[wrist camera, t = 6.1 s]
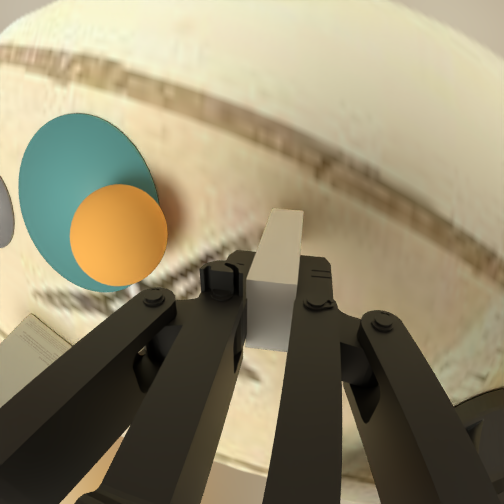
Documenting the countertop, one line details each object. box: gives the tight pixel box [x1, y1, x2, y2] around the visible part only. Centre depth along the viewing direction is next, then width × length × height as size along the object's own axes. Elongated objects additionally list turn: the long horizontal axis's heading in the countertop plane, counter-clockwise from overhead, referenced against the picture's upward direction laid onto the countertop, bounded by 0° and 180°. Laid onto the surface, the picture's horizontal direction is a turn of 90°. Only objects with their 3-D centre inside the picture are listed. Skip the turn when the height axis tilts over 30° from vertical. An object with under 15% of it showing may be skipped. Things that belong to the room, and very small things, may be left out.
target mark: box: [19, 113, 159, 292], centre depth 19 cm, size 13×13×1 cm
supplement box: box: [0, 314, 72, 408], centre depth 22 cm, size 7×7×13 cm
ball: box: [70, 184, 168, 286], centre depth 16 cm, size 6×6×6 cm
